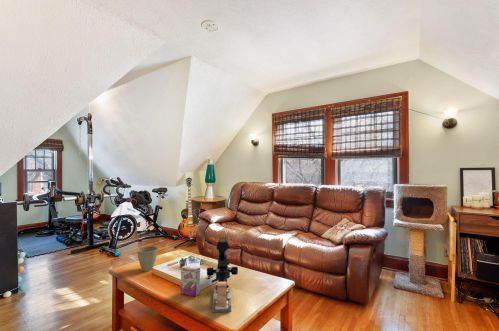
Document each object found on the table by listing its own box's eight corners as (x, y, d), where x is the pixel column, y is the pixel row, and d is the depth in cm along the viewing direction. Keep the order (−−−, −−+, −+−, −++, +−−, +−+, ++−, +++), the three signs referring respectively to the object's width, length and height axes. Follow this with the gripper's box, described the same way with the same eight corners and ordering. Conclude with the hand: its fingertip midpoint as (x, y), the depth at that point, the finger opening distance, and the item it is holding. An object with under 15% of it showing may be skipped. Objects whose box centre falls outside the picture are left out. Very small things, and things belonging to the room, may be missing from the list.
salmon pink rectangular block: (215, 302, 145) (215, 281, 145) (228, 302, 146) (228, 280, 146) (215, 309, 138) (215, 286, 138) (228, 308, 139) (228, 286, 139)
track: (214, 294, 158) (214, 288, 158) (230, 293, 159) (230, 287, 159) (212, 312, 139) (212, 305, 139) (231, 311, 139) (231, 304, 140)
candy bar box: (180, 294, 159) (180, 267, 159) (185, 290, 163) (185, 264, 164) (196, 297, 155) (196, 269, 155) (200, 293, 160) (200, 266, 160)
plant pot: (137, 275, 187) (137, 253, 187) (136, 267, 201) (137, 247, 201) (158, 271, 193) (158, 250, 194) (157, 264, 207) (157, 245, 207)
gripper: (207, 254, 155) (205, 280, 144) (237, 253, 157) (238, 279, 146) (207, 262, 163) (206, 288, 152) (237, 261, 165) (237, 286, 154)
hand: (222, 285), depth 151 cm, fingers closed
